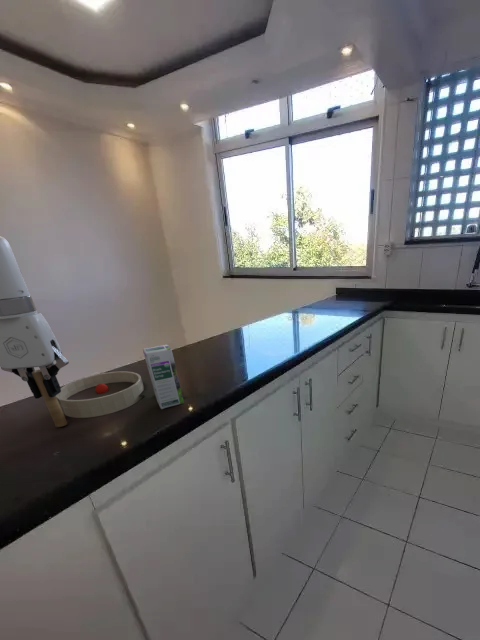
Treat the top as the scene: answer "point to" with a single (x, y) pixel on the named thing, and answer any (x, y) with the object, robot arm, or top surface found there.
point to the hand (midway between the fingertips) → (48, 394)
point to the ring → (102, 403)
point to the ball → (101, 388)
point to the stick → (50, 401)
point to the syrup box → (163, 375)
